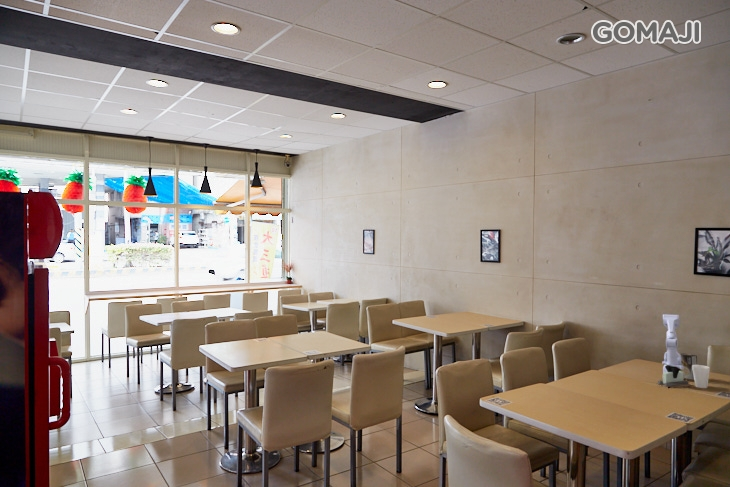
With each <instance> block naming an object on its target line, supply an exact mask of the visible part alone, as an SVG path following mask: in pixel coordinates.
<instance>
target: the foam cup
mask: <svg viewBox="0 0 730 487" xmlns="http://www.w3.org/2000/svg"><path fill="white" fill-rule="evenodd" d="M692 370H693V375H694V380H693V381H694V385H695V387H696V388H701V389H707V388H708V386H709V377H710V366H707V365H701V364H697V365H692Z"/></svg>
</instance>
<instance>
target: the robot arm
mask: <svg viewBox="0 0 730 487" xmlns="http://www.w3.org/2000/svg"><path fill="white" fill-rule="evenodd" d="M662 322H663V326H664V327H665V328H666V329H667V331H666V334H665V335H666V339H665V347H666V351H665V352H664V353H663V354H664V355H663V359H664V360H663V361H661V364H662V365H663V366H662V374H663V373H665V372H673V378H677V375H678V373H679V371H680V369H684V366H682V365H681V355H680V354H681V353H680V352H678V347H679V345H678V344H679V343H678V336H677V334H678V333H677V332H676V331H677V330H676V329H677V328H679V327H680V323H681V322H680V315H679V314H666V313H665V314H664V313H663V314H662ZM661 378H663V375H662V377H661Z"/></svg>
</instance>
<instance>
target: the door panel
mask: <svg viewBox="0 0 730 487" xmlns="http://www.w3.org/2000/svg"><path fill="white" fill-rule="evenodd" d="M662 376H663V377H662V381H663V383H664V384H665V383H669V382H678V381H685V380H684V379H685V378H683V372H681V371H679V373H678V375H677V378H673V372H665V373H663V372H662Z"/></svg>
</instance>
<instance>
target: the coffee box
mask: <svg viewBox="0 0 730 487" xmlns="http://www.w3.org/2000/svg"><path fill="white" fill-rule="evenodd" d="M679 354H680V355H681V365H682V366H684V369H680V371H681V372H683V379H686V380H687V379H688V380H693V381H695V380H694V375H693V370H692V365H698V355H696V354H690V353H685V352H684V353H679Z"/></svg>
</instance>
